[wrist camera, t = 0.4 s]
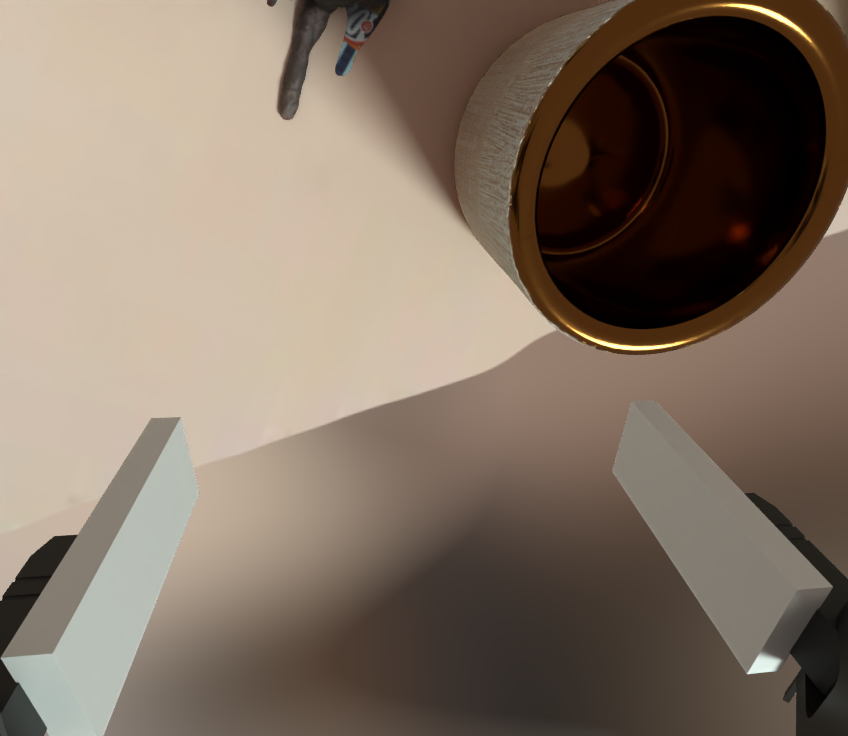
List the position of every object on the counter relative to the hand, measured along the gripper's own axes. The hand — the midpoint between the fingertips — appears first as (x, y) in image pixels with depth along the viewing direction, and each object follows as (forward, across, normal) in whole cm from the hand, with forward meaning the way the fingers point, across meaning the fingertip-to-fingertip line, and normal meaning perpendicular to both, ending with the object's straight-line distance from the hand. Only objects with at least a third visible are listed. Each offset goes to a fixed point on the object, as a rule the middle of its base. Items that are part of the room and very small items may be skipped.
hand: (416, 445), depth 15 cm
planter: (+28, +14, +5) cm, 31 cm away
